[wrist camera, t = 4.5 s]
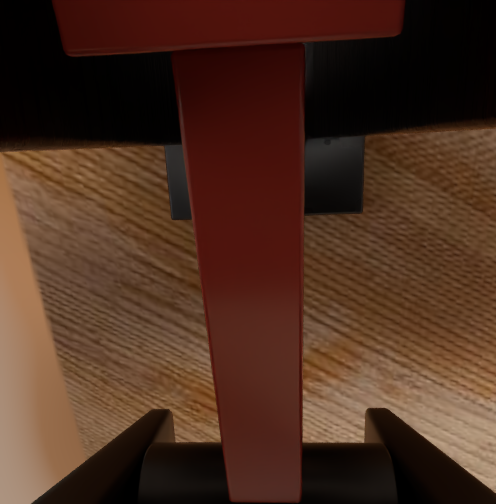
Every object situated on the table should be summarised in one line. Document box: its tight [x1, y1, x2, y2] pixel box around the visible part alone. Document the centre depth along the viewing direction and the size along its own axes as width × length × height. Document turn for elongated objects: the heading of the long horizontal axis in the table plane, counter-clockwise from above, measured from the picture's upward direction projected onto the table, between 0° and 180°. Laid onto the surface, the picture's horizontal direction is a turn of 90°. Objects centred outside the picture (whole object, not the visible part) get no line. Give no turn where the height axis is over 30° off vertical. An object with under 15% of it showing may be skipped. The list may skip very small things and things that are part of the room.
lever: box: [51, 0, 406, 504], centre depth 5 cm, size 10×4×2 cm, turn 3°
